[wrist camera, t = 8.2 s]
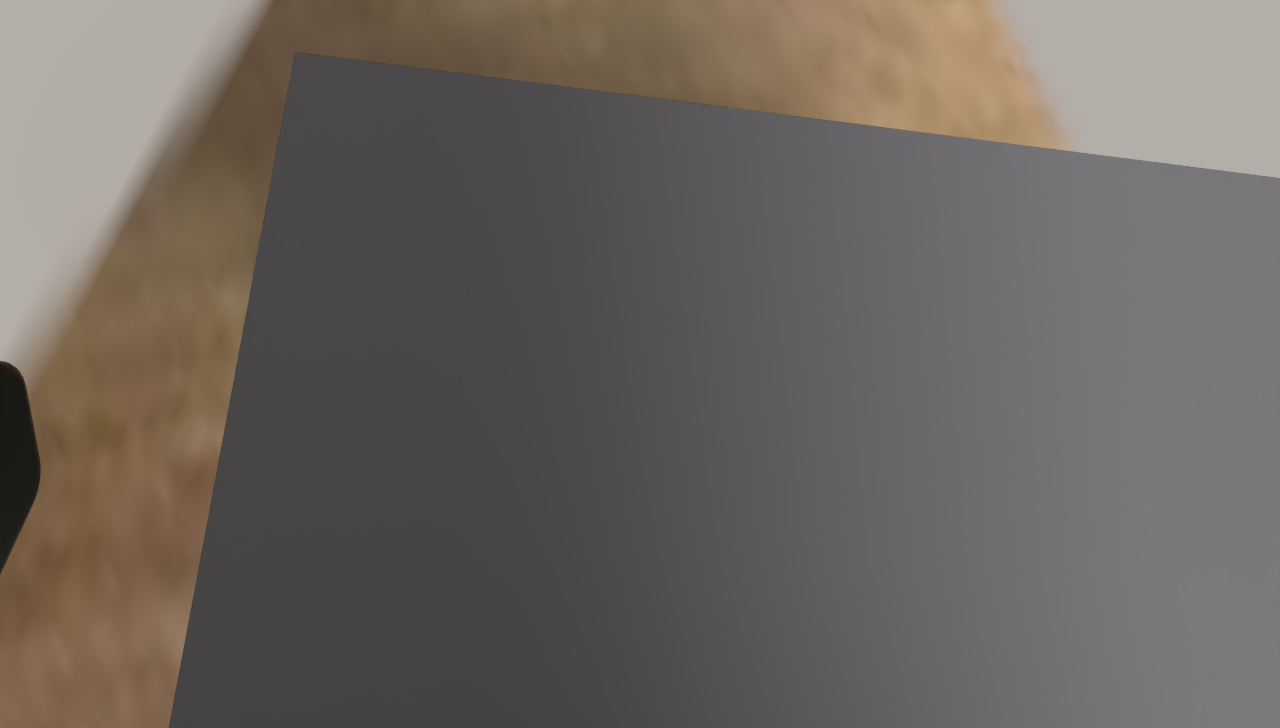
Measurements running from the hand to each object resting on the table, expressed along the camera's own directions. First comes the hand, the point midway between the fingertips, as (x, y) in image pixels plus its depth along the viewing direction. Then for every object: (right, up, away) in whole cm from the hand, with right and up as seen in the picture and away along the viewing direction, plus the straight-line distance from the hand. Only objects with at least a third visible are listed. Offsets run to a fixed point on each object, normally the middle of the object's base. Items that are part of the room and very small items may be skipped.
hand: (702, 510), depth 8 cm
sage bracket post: (-1, -3, +9) cm, 9 cm away
